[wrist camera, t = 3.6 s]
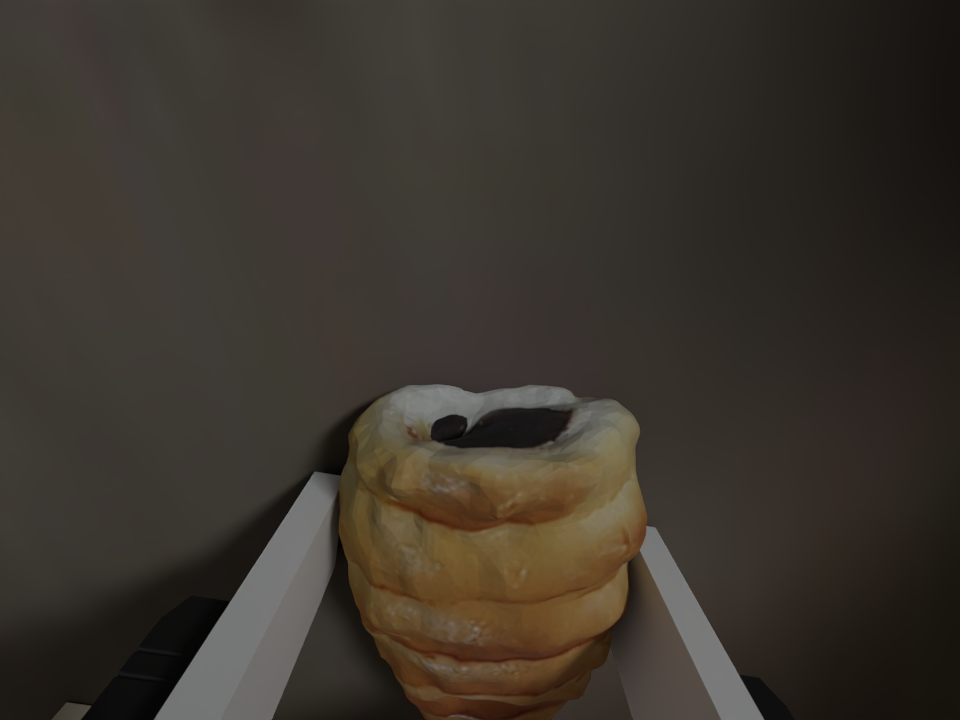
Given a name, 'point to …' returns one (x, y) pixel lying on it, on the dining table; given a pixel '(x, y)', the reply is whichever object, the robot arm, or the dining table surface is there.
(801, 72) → the dining table surface
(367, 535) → the pastry
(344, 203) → the dining table surface
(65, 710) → the serving board
